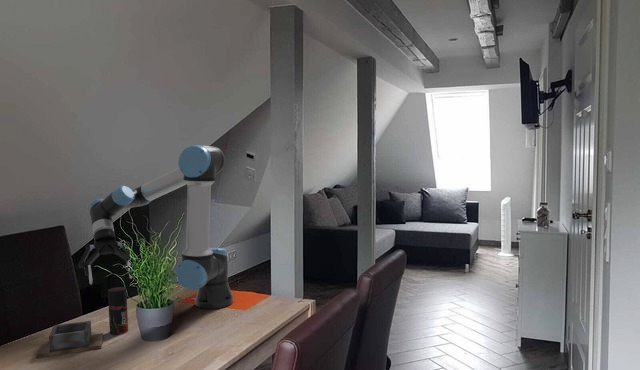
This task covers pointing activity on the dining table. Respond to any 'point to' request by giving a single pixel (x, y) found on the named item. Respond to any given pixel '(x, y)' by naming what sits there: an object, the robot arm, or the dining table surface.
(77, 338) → the holder
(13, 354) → the dining table surface
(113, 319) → the deodorant
